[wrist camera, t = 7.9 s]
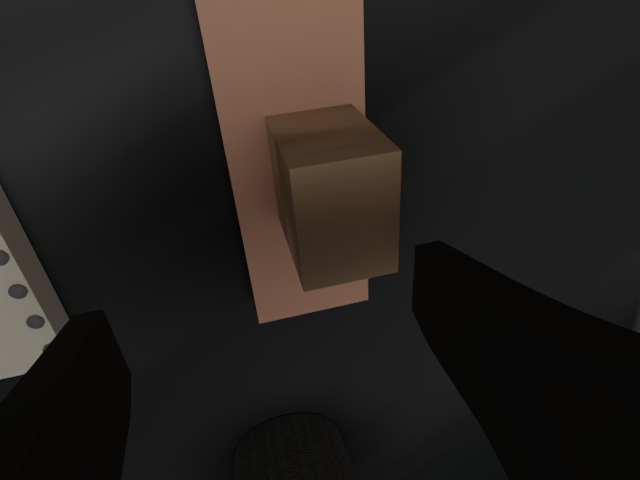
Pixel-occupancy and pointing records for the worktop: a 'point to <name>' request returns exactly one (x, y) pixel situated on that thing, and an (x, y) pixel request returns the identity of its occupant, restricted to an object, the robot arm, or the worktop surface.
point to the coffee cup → (294, 451)
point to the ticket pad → (23, 299)
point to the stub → (302, 150)
